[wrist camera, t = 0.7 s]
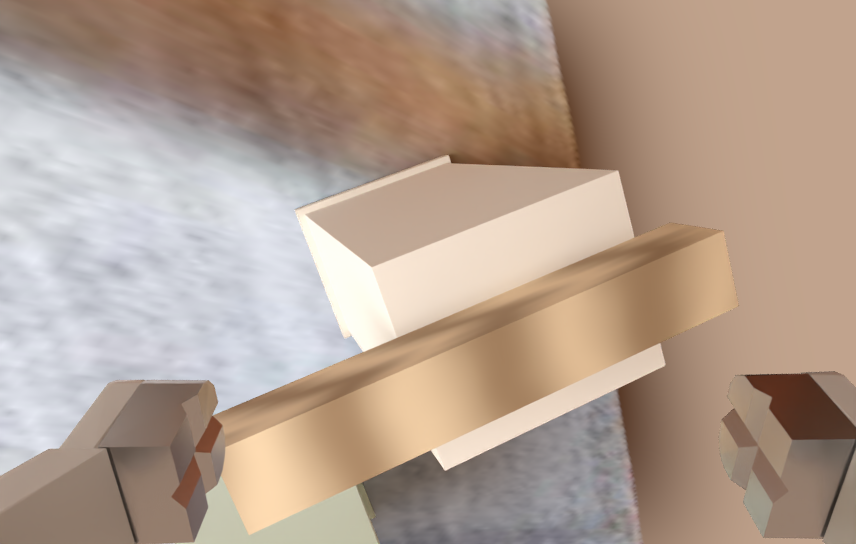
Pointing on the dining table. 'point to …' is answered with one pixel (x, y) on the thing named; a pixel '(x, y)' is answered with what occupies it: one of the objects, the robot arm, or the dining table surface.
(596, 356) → the beech block
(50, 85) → the dining table surface
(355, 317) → the white pedestal
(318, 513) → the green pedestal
